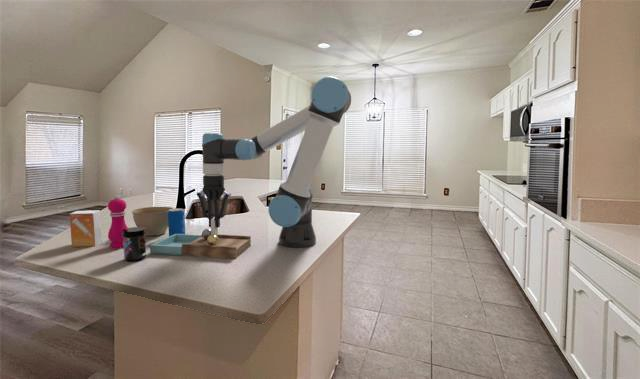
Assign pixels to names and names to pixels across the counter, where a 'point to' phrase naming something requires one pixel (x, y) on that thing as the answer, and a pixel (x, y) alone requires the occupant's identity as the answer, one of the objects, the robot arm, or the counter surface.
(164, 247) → the tray
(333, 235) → the counter surface
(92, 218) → the small box
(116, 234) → the pink tall rounded piece
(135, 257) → the supplement container
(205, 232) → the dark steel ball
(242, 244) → the walnut runway
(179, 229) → the beverage can
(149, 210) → the planter bowl
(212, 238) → the brass ball
